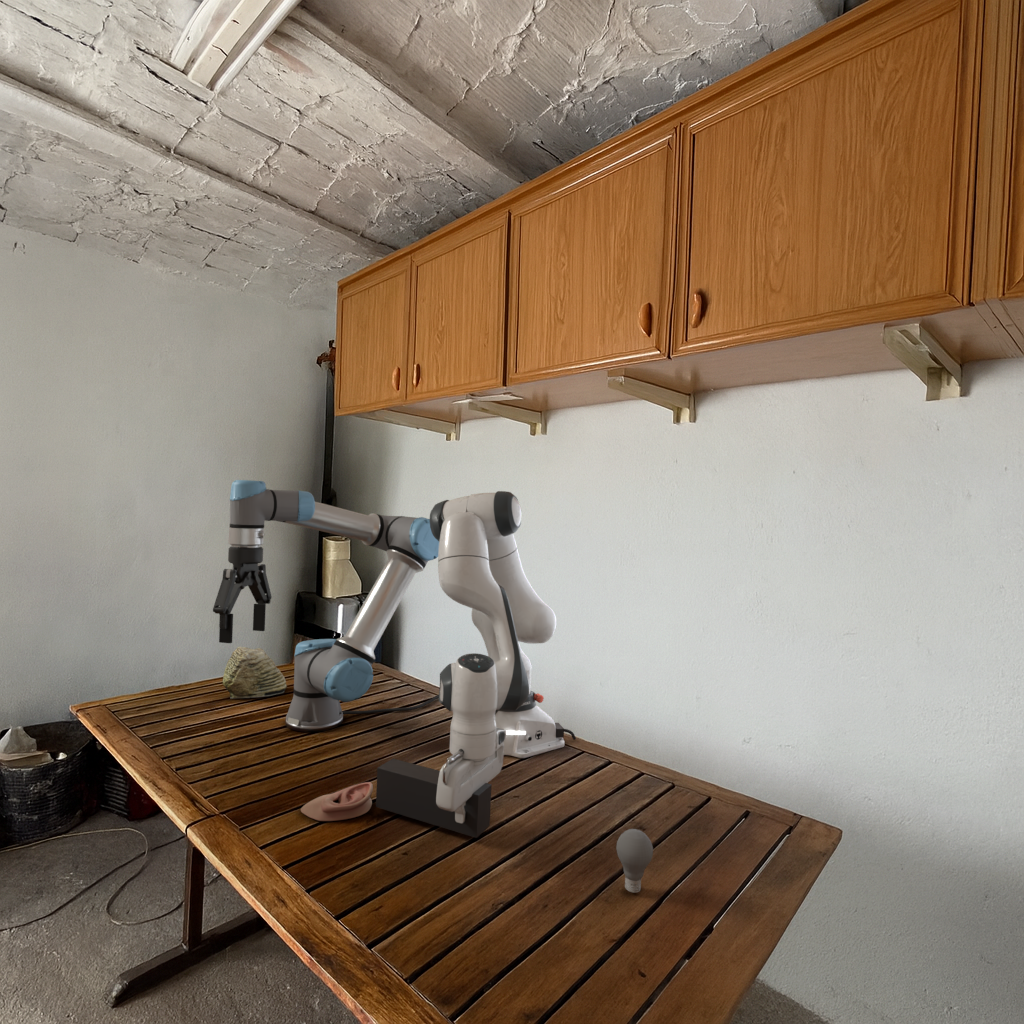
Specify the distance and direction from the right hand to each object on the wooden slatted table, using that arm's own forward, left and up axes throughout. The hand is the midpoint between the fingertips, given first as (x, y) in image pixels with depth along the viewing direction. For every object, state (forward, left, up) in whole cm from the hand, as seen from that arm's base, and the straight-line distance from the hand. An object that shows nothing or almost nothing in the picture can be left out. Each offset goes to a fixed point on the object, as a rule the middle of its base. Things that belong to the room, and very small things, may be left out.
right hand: (469, 813), depth 121 cm
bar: (+5, -7, -3) cm, 9 cm away
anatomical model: (+21, -19, -4) cm, 29 cm away
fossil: (+29, -101, -4) cm, 106 cm away
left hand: (+37, -50, +26) cm, 68 cm away
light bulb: (-18, +27, -4) cm, 33 cm away
